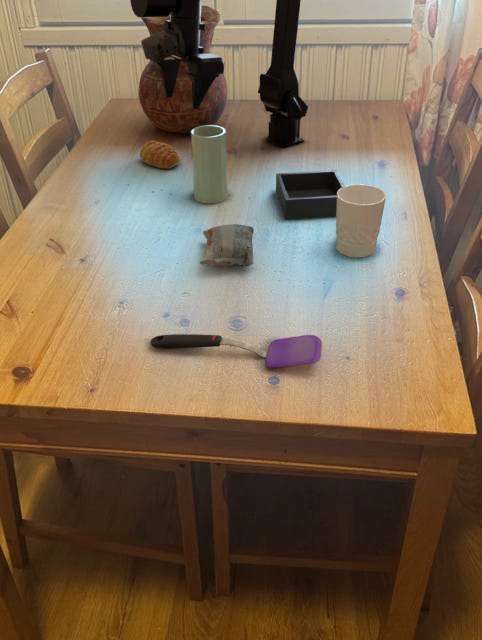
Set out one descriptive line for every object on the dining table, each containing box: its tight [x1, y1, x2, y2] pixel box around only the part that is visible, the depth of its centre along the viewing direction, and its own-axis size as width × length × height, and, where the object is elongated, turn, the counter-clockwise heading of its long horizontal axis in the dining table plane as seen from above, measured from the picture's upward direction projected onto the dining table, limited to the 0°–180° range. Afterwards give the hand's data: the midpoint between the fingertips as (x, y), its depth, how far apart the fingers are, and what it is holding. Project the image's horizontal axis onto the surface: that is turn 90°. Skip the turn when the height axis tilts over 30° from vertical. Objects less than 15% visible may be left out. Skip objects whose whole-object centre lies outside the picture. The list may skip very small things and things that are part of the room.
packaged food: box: [199, 223, 255, 268], centre depth 115 cm, size 9×12×5 cm
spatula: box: [150, 333, 323, 369], centre depth 95 cm, size 24×7×2 cm, turn 80°
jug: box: [138, 4, 228, 135], centre depth 160 cm, size 22×21×25 cm
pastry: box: [139, 140, 181, 169], centre depth 148 cm, size 9×7×4 cm
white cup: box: [335, 183, 387, 259], centre depth 115 cm, size 8×8×10 cm
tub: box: [275, 169, 346, 221], centre depth 131 cm, size 12×12×4 cm
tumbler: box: [190, 124, 228, 204], centre depth 132 cm, size 6×6×13 cm
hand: (182, 103), depth 136 cm, fingers open, 9 cm apart
